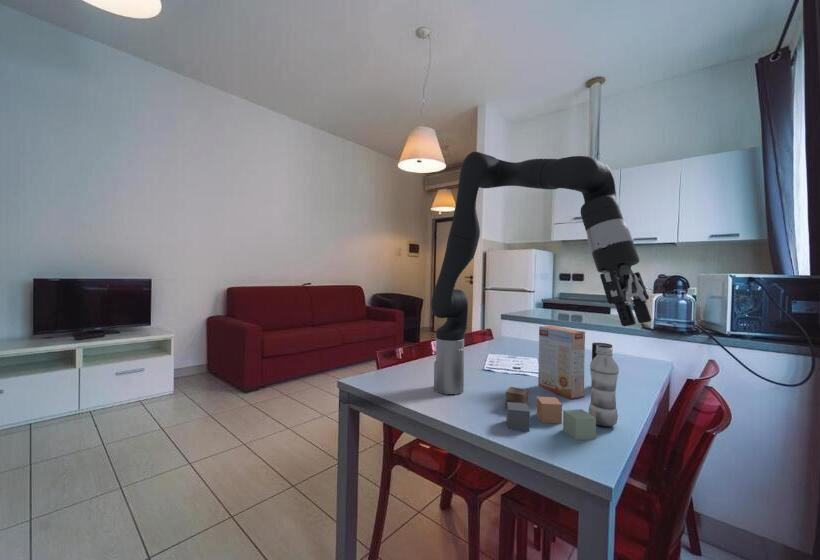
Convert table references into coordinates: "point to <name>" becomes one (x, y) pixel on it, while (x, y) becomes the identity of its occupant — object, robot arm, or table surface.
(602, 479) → the table surface
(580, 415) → the sage cube
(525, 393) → the walnut cube
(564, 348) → the cracker box
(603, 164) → the robot arm
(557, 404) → the terracotta cube
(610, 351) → the plastic bottle
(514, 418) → the charcoal cube
